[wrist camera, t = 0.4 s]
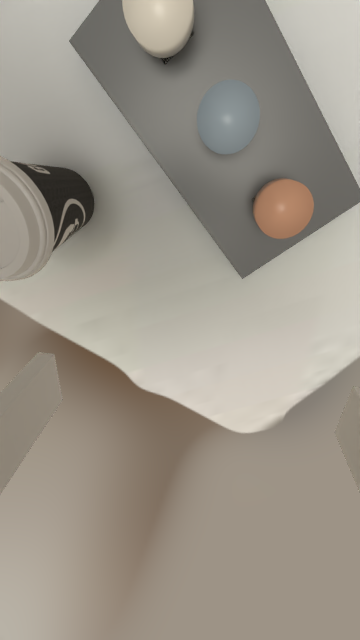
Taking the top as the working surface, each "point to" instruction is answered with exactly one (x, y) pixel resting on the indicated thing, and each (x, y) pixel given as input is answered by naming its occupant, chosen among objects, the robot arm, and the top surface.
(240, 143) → the button blue
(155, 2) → the button cream
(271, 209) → the button terracotta
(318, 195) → the panel
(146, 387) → the top surface
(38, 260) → the coffee cup
